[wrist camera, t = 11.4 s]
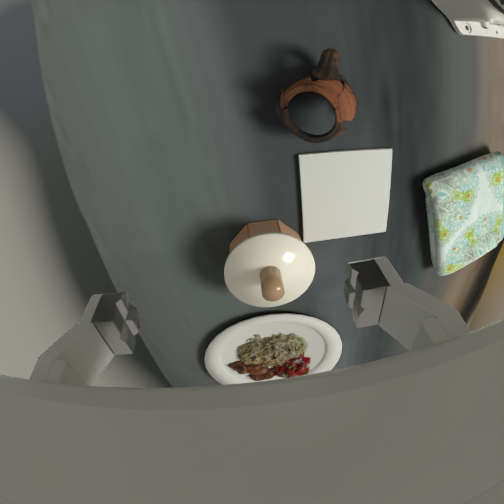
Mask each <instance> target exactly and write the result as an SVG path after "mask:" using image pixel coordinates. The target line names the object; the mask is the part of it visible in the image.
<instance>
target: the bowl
mask: <svg viewBox="0 0 504 504" xmlns="http://www.w3.org/2000/svg"><path fill="white" fill-rule="evenodd" d="M264 232H281V233H286V234H290V235H292V236H294V237H296V238H298V239H300V236H299V234H298V233H296V232H295V231H294V230H292V229H291V228H289V227H288V226H286V225H285V224H283V223H282V222H281V221H279V220H276V219H275V220H268V221H260V222H253V223H248V225H247V224H246V225H245V226H244V227H243V229H242V230H241V231H240V232H239V233H238V235H237V236H236V237H235V238H234V239H233V240H232V242H231V243H230V252H231V251H232V249H233V248H234V247H235V246H236V245H237V244H238V243H240V242H241V241H243V240H244V239H246V238H248V237H250V236H252V235H255V234H259V233H264ZM300 240H301V239H300Z"/></svg>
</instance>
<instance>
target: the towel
mask: <svg viewBox="0 0 504 504" xmlns="http://www.w3.org/2000/svg"><path fill="white" fill-rule="evenodd" d="M422 185H423V189H424V191H425V195H426V199H425V202H426V210H427V219H428V229H429V239H430V253H431V261H432V264H433V266H434V267H435V268H436V267H437V272H438V275H440V276H445V275H448V274H451V273H453V272H455V271H457V270H459V269H461V268H463V267H464V266H466V265H468V264H469V263H471V262H473V261H475V260H476V259H478V258H480V257H481V256H483V255H484V254H486V253H487V252H489V251H490V250H492V249H493V248H495V247H497V244H498V243H499V242H500V241H501V240H502V239H503V235H504V155H503V154H502V153H501V152H499V151H498V152H494V153H489V154H486V155H483V156H480V157H478V158H476V159H473V160H471V161H468V162H466V163H463V164H461V165H459V166H456V167H454V168H451V169H448V170H445V171H442V172H439V173H437V174H434V175H431V176H429V177H427V178H425V179H424V181H423V184H422Z"/></svg>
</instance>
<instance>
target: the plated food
mask: <svg viewBox="0 0 504 504" xmlns="http://www.w3.org/2000/svg"><path fill="white" fill-rule="evenodd" d="M341 352H342V343H341V339H340V336H339V334H338V333H337V332H336V330H335V329H334V328H333V327H332V326H330V325H329V324H328V323H326V322H324V321H322V320H320V319H317V318H315V317H311V316H306V315H302V314H290V313H282V314H268V315H263V316H257V317H253V318H250V319H247V320H244V321H240V322H238V323H236V324H234V325H232V326H230V327H228V328H226V329H225V330H223V331H222V332H221V333H219V334H218V335H217V336H216V337H215V338H214V339H213V340H212V341H211V342H210V344H209V346H208V348H207V349H206V352H205V359H204V361H205V366H206V369H207V371H208V372H209V374H210V375H211V376H212V377H213V378H214V379H215V380H216V381H217V382H219V383H220V384H222V385H230V384H241V383H250V382H259V381H268V380H276V379H283V378H290V377H296V376H303V375H309V374H315V373H320V372H326V371H330V370H331V369H332V368H333V367H334V366H335V364H336V363H337V362H338V360H339V358H340V355H341Z"/></svg>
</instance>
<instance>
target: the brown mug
mask: <svg viewBox="0 0 504 504" xmlns="http://www.w3.org/2000/svg"><path fill="white" fill-rule="evenodd" d="M339 58H340V53H338V52H337V51H336V50H335V49H332V48H328V49H326V50H324V51H323V53H322V55H321V58H320V61H319V64H318V67H316V68H315V69H313V70H312V74H313V76H314V77H315V78H316V79H319V80H316V81H312V80H311V78H310V77H309V78H305V79H302V80H300V81H298V82H296V83H294V84H293V85H291V86H290V87H289V88H288V89H287V90H286V91H285V90H282V92H281V96H280V106H281V107H280V109H281V116H282V119H283V121H284V123H285V125H286V126H287V128H288V129H289V130H290V131H291V132H292V133H293V134H295V135H296V136H297V137H299V138H300V139H303V140H305V141H308V142H313V143H320V142H324V141H328V140H330V139H332V138H335V137H337V136H341V135H342V134H344V133H345V132H346V128H344V126H343V123H342V121H352V120H353V118H354V116H355V113H356V109H357V100H356V97H355V95H354V92H353V91H352V88H351V87H350V85H349V84H348V82H347V81H346V80H345V78H344V77H343V76H342V75H340V74H339V73H338V61H339ZM340 81H341V82H340ZM305 91H313V92H316V93H318V94H320V95H322V96H324V97H325V98H326V99H327V100H328V101H329V102H330V103H331V105H332V106H333V108H334V111H335V116H336V119H335V124H334V126H333V128H332V129H331V130H330V131H329V132H327V133H325V134H322V135H313V134H309V133H306V132H304V131H302V130H301V129H300V128H298V127H297V126H296V125H295V124H294V122H293V121H292V119H291V117H290V114H289V110H288V108H287V106H288V101H290V100H291V99H292V98H293V96H295V95H296V94H298V93H300V92H305Z"/></svg>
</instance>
